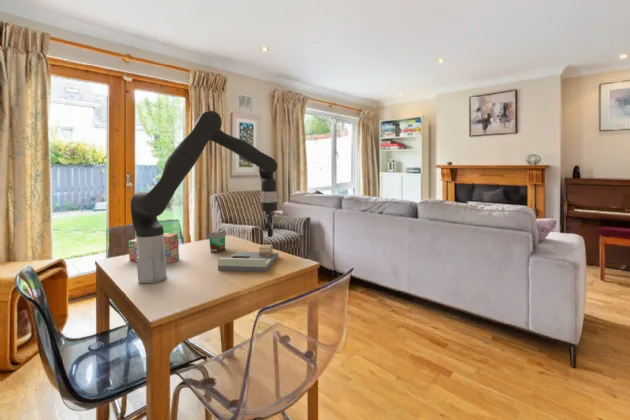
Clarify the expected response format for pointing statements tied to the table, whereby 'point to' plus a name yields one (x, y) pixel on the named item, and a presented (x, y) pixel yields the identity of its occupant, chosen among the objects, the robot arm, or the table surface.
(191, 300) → the table surface
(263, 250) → the maple block
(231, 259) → the grey panel with windows
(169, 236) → the stack of blocks
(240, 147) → the robot arm
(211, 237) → the food container
